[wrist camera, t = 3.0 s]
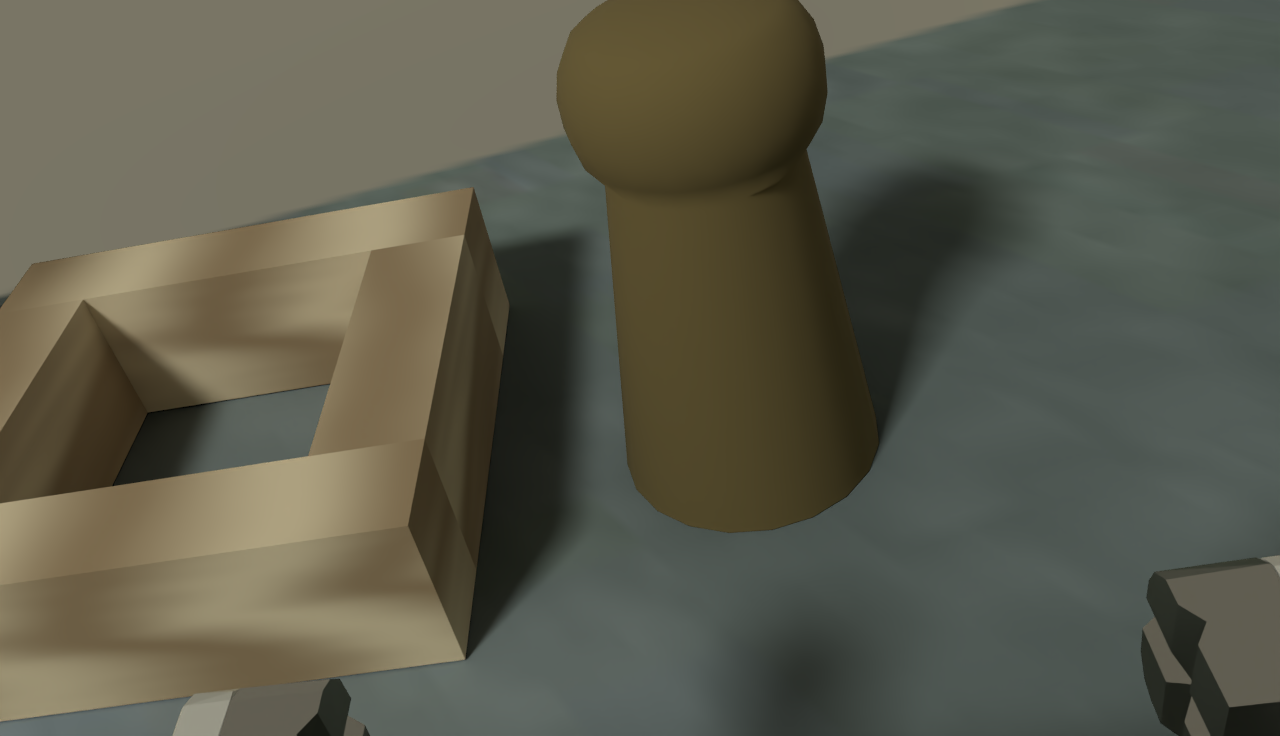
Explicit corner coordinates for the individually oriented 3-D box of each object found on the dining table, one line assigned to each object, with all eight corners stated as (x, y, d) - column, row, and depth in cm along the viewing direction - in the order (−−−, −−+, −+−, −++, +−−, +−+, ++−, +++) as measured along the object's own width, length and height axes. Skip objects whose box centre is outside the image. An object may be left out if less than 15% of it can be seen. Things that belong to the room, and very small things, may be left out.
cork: (619, 387, 31) (517, -23, 24) (848, 342, 31) (807, -85, 24) (636, 555, 26) (515, 99, 20) (908, 503, 26) (877, 25, 19)
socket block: (509, 304, 35) (473, 187, 33) (465, 659, 25) (407, 526, 22) (96, 372, 36) (32, 264, 34) (-110, 735, 26) (-222, 617, 24)
